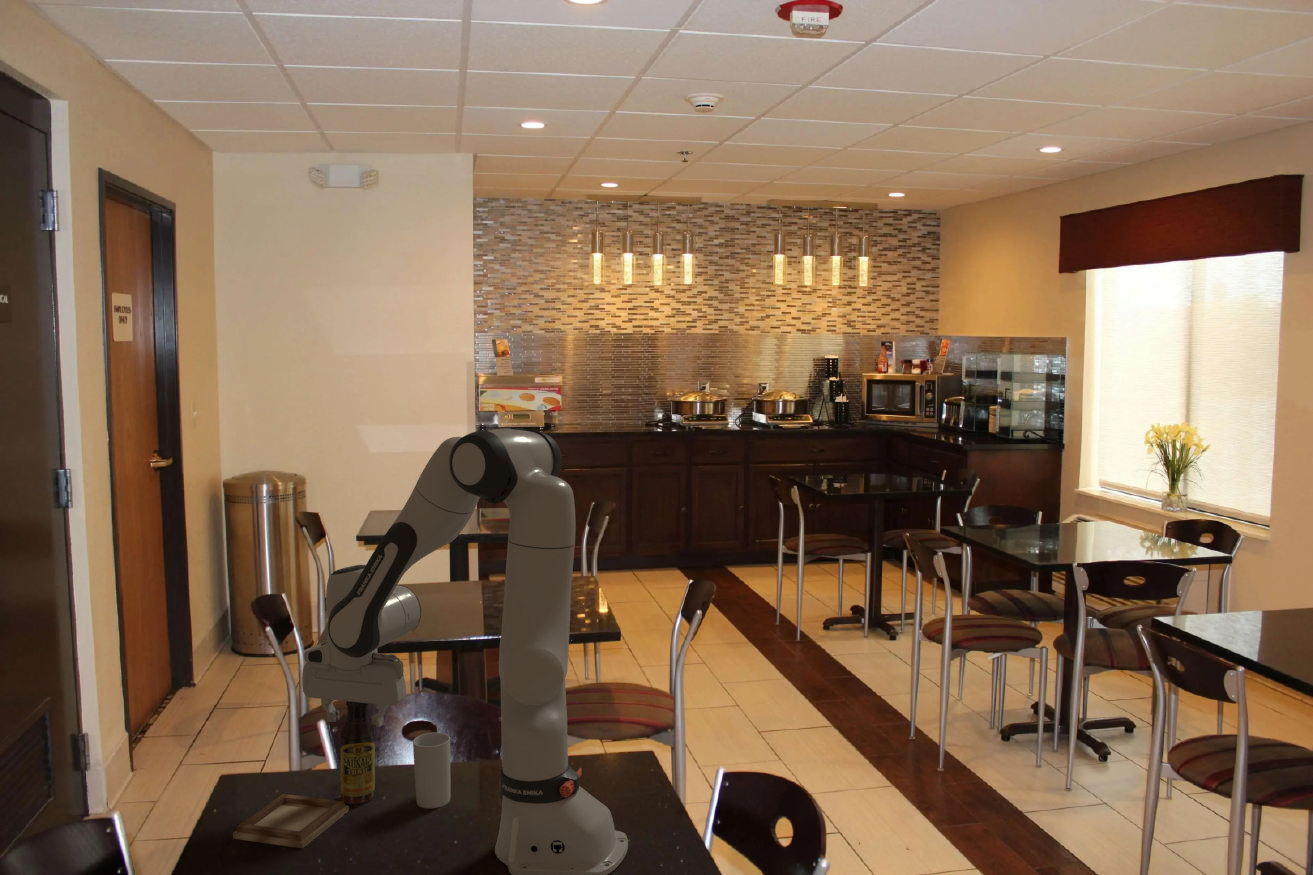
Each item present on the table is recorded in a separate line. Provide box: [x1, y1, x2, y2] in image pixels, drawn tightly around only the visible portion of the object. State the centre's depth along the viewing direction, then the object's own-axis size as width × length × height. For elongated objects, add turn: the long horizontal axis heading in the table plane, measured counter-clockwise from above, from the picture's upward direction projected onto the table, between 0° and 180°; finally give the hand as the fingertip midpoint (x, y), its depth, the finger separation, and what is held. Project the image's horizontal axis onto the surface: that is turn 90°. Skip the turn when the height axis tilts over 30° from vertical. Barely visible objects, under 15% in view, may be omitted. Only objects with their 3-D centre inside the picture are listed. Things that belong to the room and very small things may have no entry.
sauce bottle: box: [339, 701, 376, 805], centre depth 187 cm, size 7×6×20 cm
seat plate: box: [232, 793, 350, 849], centre depth 178 cm, size 14×14×2 cm
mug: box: [412, 732, 452, 810], centre depth 188 cm, size 10×7×12 cm, turn 178°
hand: (355, 722), depth 187 cm, fingers open, 8 cm apart
